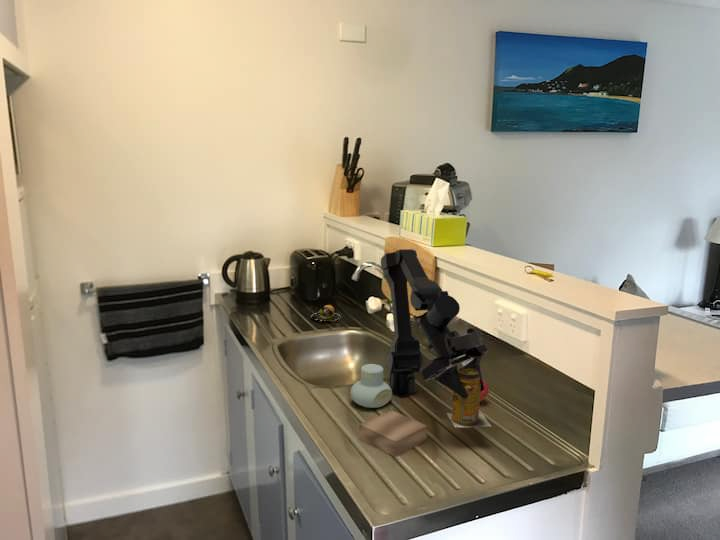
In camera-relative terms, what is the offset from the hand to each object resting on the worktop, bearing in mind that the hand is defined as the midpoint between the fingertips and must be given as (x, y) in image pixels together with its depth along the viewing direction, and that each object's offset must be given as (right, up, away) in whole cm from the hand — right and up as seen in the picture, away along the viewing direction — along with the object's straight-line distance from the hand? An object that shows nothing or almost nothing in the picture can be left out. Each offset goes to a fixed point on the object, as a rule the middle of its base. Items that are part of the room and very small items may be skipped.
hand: (474, 394), depth 132 cm
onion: (+5, -8, +25) cm, 27 cm away
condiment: (-1, -7, +3) cm, 8 cm away
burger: (-39, +8, +96) cm, 104 cm away
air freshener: (-23, -7, +22) cm, 33 cm away
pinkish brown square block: (-18, -12, +4) cm, 22 cm away
